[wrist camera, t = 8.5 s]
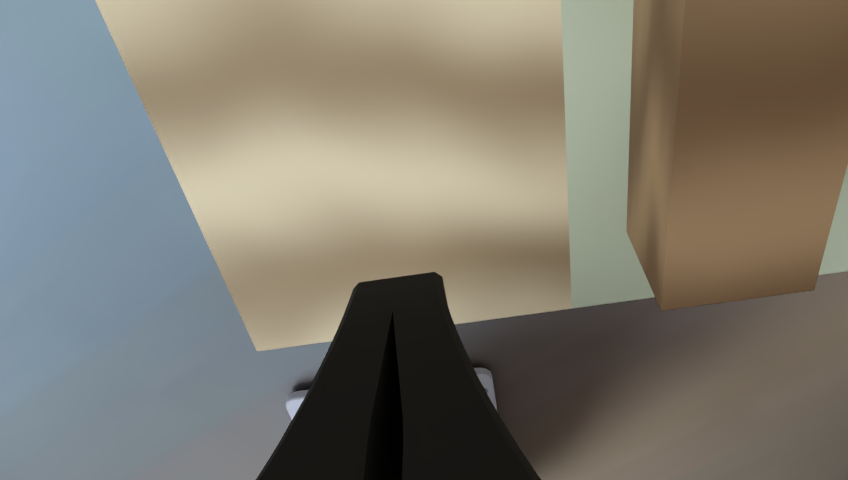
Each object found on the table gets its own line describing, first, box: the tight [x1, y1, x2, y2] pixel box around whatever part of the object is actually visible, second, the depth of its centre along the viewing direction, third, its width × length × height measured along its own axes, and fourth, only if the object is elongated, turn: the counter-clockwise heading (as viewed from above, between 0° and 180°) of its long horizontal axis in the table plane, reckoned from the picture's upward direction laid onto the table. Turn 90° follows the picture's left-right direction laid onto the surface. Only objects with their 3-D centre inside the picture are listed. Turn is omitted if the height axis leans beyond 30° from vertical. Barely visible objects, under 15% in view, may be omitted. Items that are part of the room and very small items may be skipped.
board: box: [95, 0, 848, 351], centre depth 18 cm, size 18×26×1 cm
